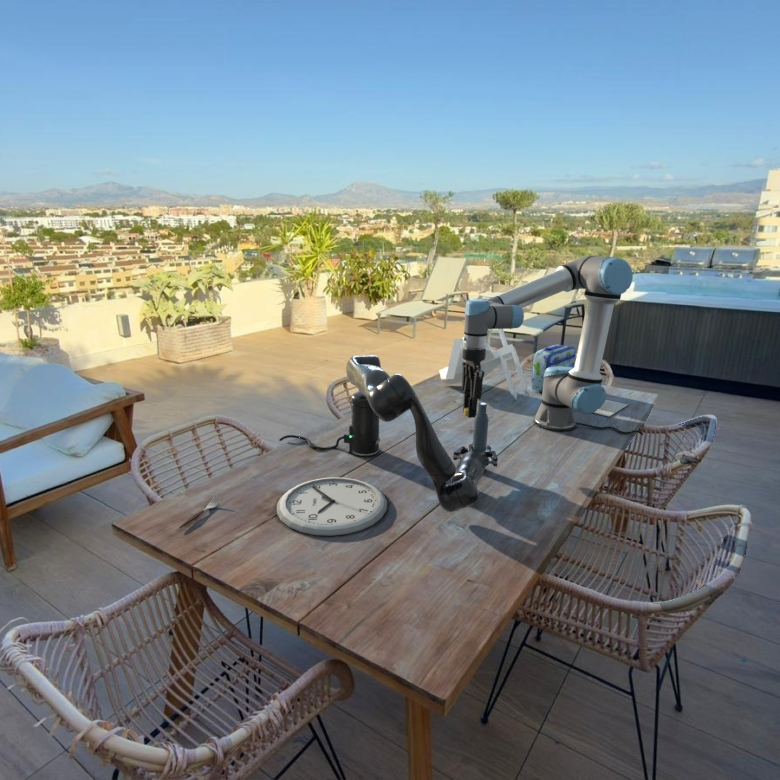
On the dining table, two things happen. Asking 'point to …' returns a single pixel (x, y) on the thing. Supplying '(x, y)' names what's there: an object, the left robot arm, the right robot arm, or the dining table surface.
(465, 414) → the cap
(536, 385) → the lunch box
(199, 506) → the dining table surface
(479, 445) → the bottle
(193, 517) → the fork
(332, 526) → the wall clock
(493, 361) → the white plastic object
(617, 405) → the invitation card
